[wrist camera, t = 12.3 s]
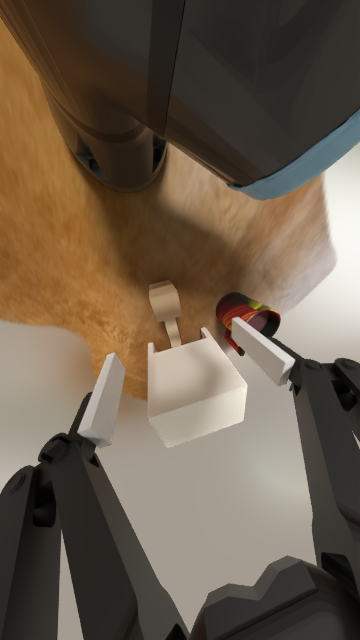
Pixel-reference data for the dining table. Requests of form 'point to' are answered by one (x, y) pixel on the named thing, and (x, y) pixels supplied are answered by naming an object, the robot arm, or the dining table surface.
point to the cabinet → (193, 390)
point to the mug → (246, 316)
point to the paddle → (166, 308)
